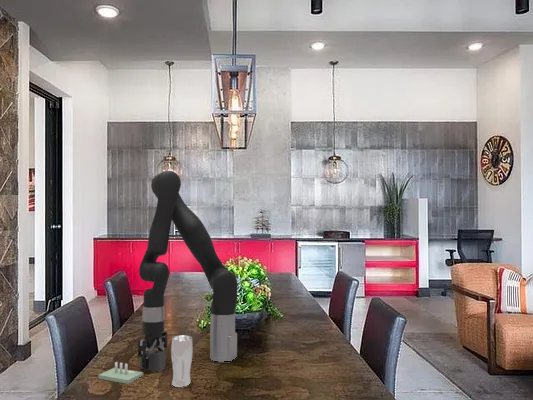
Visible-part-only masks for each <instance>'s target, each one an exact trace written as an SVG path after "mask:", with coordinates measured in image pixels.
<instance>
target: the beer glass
mask: <svg viewBox="0 0 533 400" xmlns="http://www.w3.org/2000/svg"><path fill="white" fill-rule="evenodd" d="M170 343H171V344H170V360H171V367H172V381H171V386H172V385H173V386H175V387H183V386H187V385H189V384H190V383H191V384H192V381H191V367H192V363H193V362H192V361H193V354H194V352H193V351H194V348H193V346H194V345H193V344H194V343H193V337H192V336H190V335H184V334H183V335H175V336H172V337H171V341H170ZM173 386H172V387H173Z"/></svg>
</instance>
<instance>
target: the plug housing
mask: <svg viewBox="0 0 533 400" xmlns="http://www.w3.org/2000/svg"><path fill="white" fill-rule="evenodd" d="M142 352H143V351H141V354H142ZM146 354H147V352H146ZM166 355H167V354H166V351H163V352H162V351H158V350H155V349H153V351H152V352H151V353H150V355H149V369H147V370H146V369H145V370H144V371H148V370H151V371H150V372H154V371H158V372H157V373H161V372H163V371H165V370H166V360H167V359H166ZM141 369H143V368H142V358H140V370H141ZM164 369H165V370H164ZM162 370H163V371H162ZM160 371H161V372H160Z"/></svg>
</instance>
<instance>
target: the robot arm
mask: <svg viewBox="0 0 533 400" xmlns="http://www.w3.org/2000/svg"><path fill="white" fill-rule="evenodd" d="M181 185H182V181H181V178H180V176H179V174H177V172H175V171H172V170H166V171H162V172H160V173H158V174H156V175H155V176H154V177H153V179H152V180H151V187H150V188H151V189H152V190H151V191H152V192H153V194H154V196H155V197H156V198H157V203H156V209H155V213H154V216H153V218H152V222H151V225H150V229H149V235H148V240H147V246H146V251H145V253H144V254H143V257H142V260H141V262H140V264H139V269H138V274H139V277H140V279H141V280H143V281H144V282H150V283H153V285H152V288H151V287H149V288H146V289H145V290H144V291H143V308H142V320H141V321H142V324H141V325H142V331H141V332H142V333H143V334H144V339H138V341H137V342H138V343H137V344H138V345H137V358H140V359H141V358H142V368H143V369H146V370H145V371H148V370H147V369H149V355H150V353H151V352H152V351H153V350H155V349H156V351H162V352H165V349H168V331H165V314H166V313H165V293H166V289H167V286H168V285H167V284H168V281H169V278H170V268H169V266H168V265H167V264H166V263H165V262H162V261H157V260H158V259H159V257H162V256H165V255H166V254H167V252H168V247H169V240H170V234H171V233H170V232H171V226H172V223H173V225H174V226H175V228H176V230H177V231H178V233H179V235H180V238H181V239H182V240H183V242H184V244H185V245H186V248H187V249H189V252H190V253H191V254H192V256H193V257H194V259H195V260H196V261H197V262H198V263H199V265H200V267H201V269H202V271H203V273H204V274H205V277H206V279H207V281H208V284H209V286H210V288H211V289H212V303H211V306H210V329H209V330H210V333H209V335H210V336H209V337H210V338H209V339H210V341H209V343H210V345H209V349H210V350H209V351H210V352H209V359H211V360H210V361H212V360H213V361H212V362H214V361H218V362H217V363H225V362H224V361H231V362H233V361H234V360H236V359H237V358H238V333H237V332H236V309H237V308H236V307H237V305H238V279H237V277H236V275H235V274H234V272H233V273H232V271H229V270H228V269H227V267H226V266H225V265H224V264H223V262H222V260H221V259H220V258H219V256H218V254H217V252H216V249H215V247H214V243H213V240H212V239H211V236H210V234H209V231H208V229H207V228H206V227H205V225H204V223H203V222H202V221H201V219H200V217H198V216H197V215H196V213H195V212H194V211H193V210H191V209H190V208H189V207H188V206H187V204H186V203H185V201H184V200H183V198H182V196H181V195H180V190H181V187H182V186H181ZM142 351H143V352H142ZM141 352H142V354H141ZM146 352H147V354H146ZM236 357H237V358H236ZM235 358H236V359H235ZM233 359H234V360H233ZM232 360H233V361H232Z"/></svg>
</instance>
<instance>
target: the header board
mask: <svg viewBox="0 0 533 400" xmlns="http://www.w3.org/2000/svg"><path fill="white" fill-rule="evenodd" d="M118 363H119V364H118ZM123 364H124V367H123ZM118 365H119V368H118ZM128 366H129V365H128V363H123V362H118V361H115V362H114V367H112V368H111V369H108V370H106V371H104V372H102V373H99V374H97V375H98V378H97V379H98V380H103V381H104V380H105V381H108V382H109V381H110V382H115V383H120V384H122V383H123V384H127V385H129V384H131V383H133V382H134V380H135V381H137V380H139V379H140V378H139V377H141V376H142V377H144V372H142V371H137V370H130V369H128V368H129V367H128ZM142 377H141V378H142ZM138 378H139V379H138ZM136 379H137V380H136Z"/></svg>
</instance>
